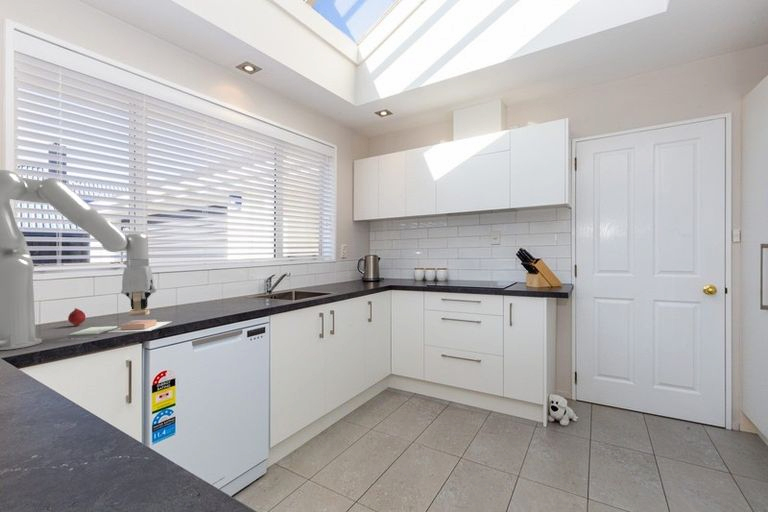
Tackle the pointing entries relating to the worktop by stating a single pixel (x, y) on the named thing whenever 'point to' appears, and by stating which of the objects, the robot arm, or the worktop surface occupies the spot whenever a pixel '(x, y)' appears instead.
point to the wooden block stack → (138, 305)
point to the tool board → (93, 330)
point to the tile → (138, 324)
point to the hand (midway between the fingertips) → (139, 308)
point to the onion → (76, 317)
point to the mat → (142, 329)
